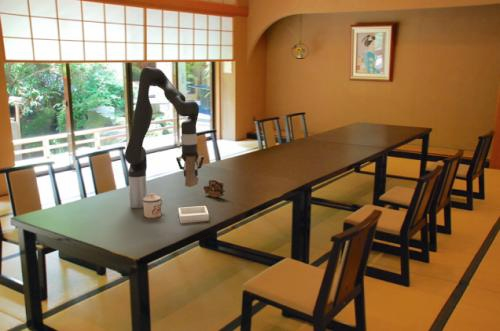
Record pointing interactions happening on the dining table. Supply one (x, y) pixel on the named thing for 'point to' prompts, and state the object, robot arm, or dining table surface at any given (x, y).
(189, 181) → the wooden block
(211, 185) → the wooden carving
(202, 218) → the tray
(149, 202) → the teacup with lid
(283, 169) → the dining table surface
